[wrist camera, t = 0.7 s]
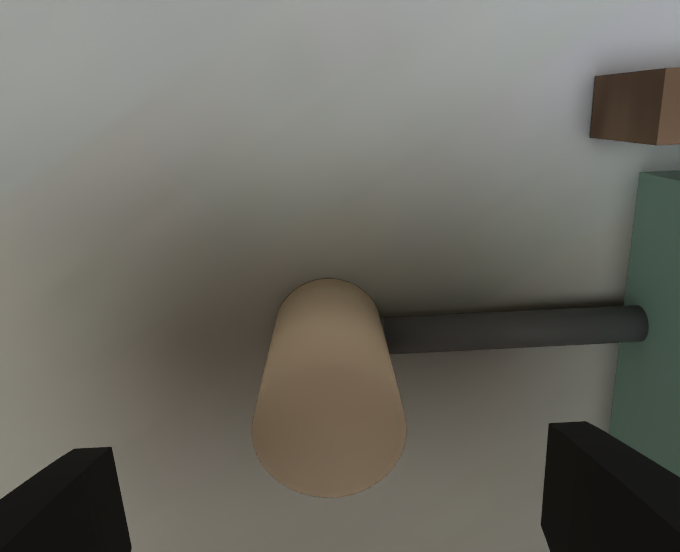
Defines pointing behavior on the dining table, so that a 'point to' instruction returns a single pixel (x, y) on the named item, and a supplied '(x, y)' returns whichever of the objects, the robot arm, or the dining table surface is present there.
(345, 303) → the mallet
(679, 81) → the tray
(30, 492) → the robot arm
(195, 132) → the dining table surface
